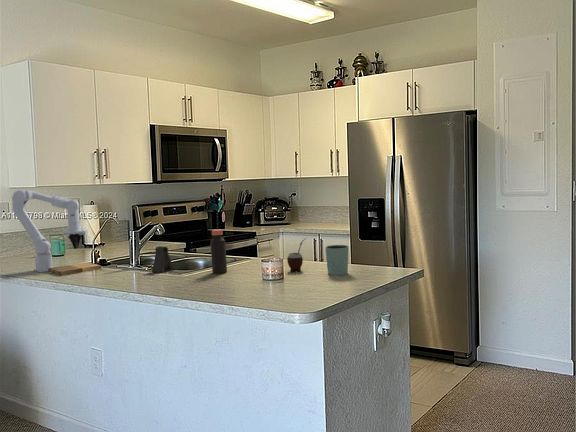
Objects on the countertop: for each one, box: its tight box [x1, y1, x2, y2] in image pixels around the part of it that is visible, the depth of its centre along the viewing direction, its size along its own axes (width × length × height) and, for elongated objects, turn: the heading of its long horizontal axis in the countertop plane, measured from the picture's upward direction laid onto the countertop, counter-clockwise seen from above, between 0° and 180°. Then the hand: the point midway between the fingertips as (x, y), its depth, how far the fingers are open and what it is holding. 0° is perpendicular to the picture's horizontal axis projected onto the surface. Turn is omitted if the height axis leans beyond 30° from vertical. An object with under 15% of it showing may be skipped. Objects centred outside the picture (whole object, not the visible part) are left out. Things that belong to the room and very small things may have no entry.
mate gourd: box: [287, 237, 307, 273], centre depth 258 cm, size 8×8×15 cm
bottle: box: [210, 228, 228, 275], centre depth 265 cm, size 7×7×20 cm
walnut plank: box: [47, 264, 83, 277], centre depth 289 cm, size 18×10×2 cm, turn 43°
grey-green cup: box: [325, 244, 350, 277], centre depth 246 cm, size 10×10×12 cm
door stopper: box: [151, 245, 175, 274], centre depth 278 cm, size 9×6×12 cm, turn 139°
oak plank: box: [67, 262, 102, 273], centre depth 296 cm, size 18×10×2 cm, turn 43°
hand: (76, 248), depth 301 cm, fingers closed
